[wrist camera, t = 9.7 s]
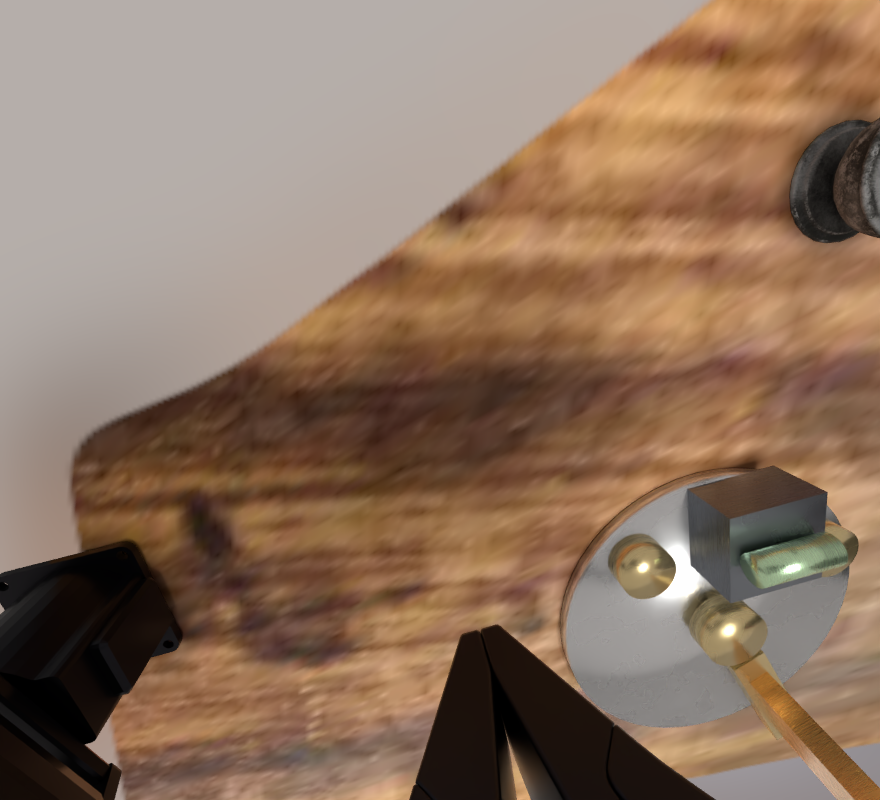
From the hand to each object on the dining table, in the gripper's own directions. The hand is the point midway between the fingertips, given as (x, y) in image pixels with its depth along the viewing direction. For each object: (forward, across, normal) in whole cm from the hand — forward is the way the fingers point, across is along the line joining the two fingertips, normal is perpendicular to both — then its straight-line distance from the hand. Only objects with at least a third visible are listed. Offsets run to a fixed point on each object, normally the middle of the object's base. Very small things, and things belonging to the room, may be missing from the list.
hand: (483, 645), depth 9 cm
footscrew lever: (+11, +16, -19) cm, 27 cm away
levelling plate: (+13, +14, -15) cm, 25 cm away
